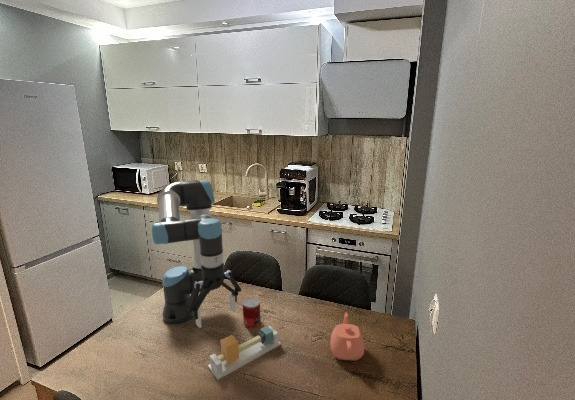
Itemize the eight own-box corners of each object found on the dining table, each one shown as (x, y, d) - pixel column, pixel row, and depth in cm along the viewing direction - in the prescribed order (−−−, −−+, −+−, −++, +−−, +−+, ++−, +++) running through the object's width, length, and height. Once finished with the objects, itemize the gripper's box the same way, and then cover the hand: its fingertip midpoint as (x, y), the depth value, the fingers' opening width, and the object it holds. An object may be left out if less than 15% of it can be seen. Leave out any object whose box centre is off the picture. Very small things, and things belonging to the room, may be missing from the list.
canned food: (257, 329, 141) (257, 307, 138) (241, 327, 143) (240, 305, 140) (262, 318, 148) (261, 298, 145) (246, 316, 150) (245, 296, 147)
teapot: (359, 335, 136) (361, 311, 133) (366, 371, 117) (368, 344, 114) (329, 334, 137) (329, 309, 134) (330, 369, 118) (331, 342, 115)
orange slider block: (221, 357, 121) (220, 340, 119) (232, 351, 124) (231, 334, 122) (227, 364, 117) (226, 347, 115) (239, 358, 120) (238, 341, 118)
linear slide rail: (208, 366, 120) (206, 351, 118) (269, 334, 137) (269, 321, 135) (217, 380, 114) (216, 364, 112) (280, 344, 131) (280, 330, 129)
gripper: (181, 280, 96) (187, 338, 101) (249, 256, 112) (251, 308, 117) (172, 271, 101) (178, 327, 107) (238, 250, 117) (240, 300, 123)
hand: (216, 317), depth 112 cm, fingers open, 13 cm apart
